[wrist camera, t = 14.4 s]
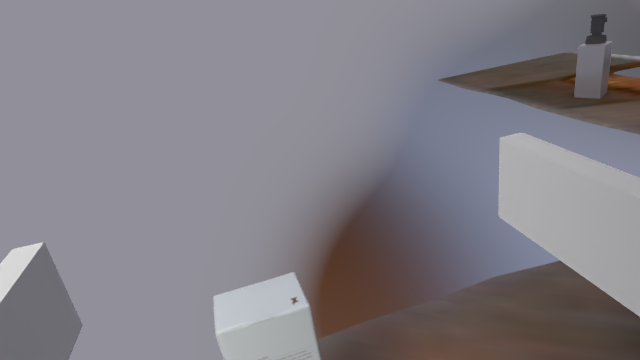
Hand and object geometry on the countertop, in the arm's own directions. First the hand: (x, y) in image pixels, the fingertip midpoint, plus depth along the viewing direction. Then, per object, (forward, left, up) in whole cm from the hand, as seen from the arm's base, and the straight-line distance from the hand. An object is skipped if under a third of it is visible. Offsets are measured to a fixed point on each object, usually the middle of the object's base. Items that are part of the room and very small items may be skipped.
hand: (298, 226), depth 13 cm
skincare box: (+2, -13, -24) cm, 27 cm away
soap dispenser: (-101, -95, -32) cm, 142 cm away
